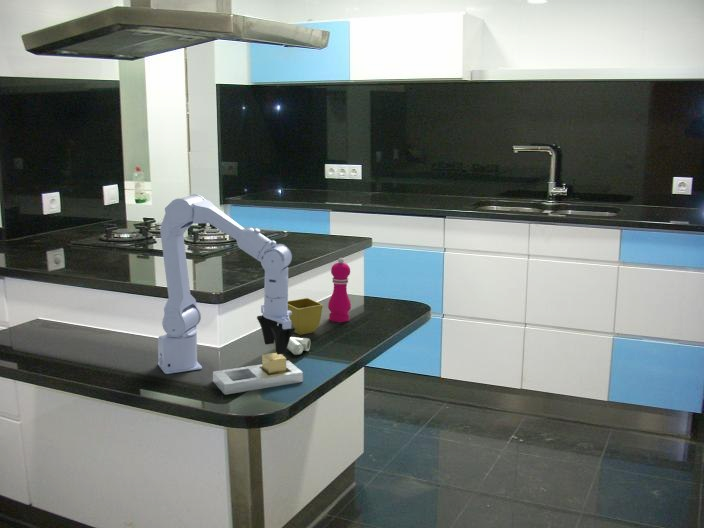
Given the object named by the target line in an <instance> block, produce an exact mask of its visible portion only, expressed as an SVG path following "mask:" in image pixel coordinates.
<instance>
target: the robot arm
mask: <svg viewBox="0 0 704 528" xmlns="http://www.w3.org/2000/svg"><path fill="white" fill-rule="evenodd" d="M193 224H209V225H210V226H213V227H214V228H216V229H218V230H219V231H221V232H223V233H224V234H226V235H228V236H229V237H230V238H232V239H234V240H236V244H237V247H238V248H239V249H240V250H242V251H243V252H245V253H246V254H248V255H249V256H251V257H252V258H254V259H255V260H257V261H258V262H260V264H261V267H262V269H263V270H264V287H263V288H264V292H263V293H264V295H263V296H264V297H263V298H264V299H263V300H264V301H263V302H264V303H263V304H262V305H260V312H261V315H257V316H256V319H257V321H258V323H259V326H260V328H261V331H262V336H263V341H264V344H265V345H272V344H274V343H275V344H274V345H275V353H277V354H282V355H284V354H286V353H287V350H288V349H287V346H288V343H289V340H290V337H292V336H293V333H295V332H294V331H295V327H294V326H293V325H291V320H290V319H289V315H292V312H291V311H290V310H288V301H289V267H288V266H289V265H290V264H291V262H292V260H293V254H292V252H291V250H290V248H289V247H287V246H286V245H285V244H283V243H277V241H275V240H274V239H273V240H271V238H270V239H269V238H268V237H266V236H265V235H264V234H262V233H261V229H259V228H258V227H256V228H253V227H246V228H245V227H243V226H242V225H240V224H239V223H237V221H236V220H233V219H232V218H231V217H230V216H229V215H227V214H226V213H225V212H223V211H222V210H220V209H219V208H218V207H216V206H215V204H214V203H213V202H212V201H211V200H209V199H205V198H204V197H203V196H202V195H200V194H197V193H196V194H194V193H193V194H191V195H189V196H185V197H181V198H179V197H178V198H175V199H173V200H172V201H171V202H169V204H168V205H166V206H165V207H164V216H163V218H162V222H161V224H160V227H159V228H160V229H159V232H160V238H161V246H162V248H161V249H162V255H163V262H164V263H163V264H164V269H165V270H164V271H165V279H166V287H167V296H168V299H167V301H166V303H165V306H164V307H163V313H164V315H163V318H162V322H161V325H162V329H163V330H164V332H165V333H166V334H164V335H159V336H158V339H157V356H158V357H157V358H158V362H157V365H158V366H159V368H160V370H162V372H163V374H165V375H169V374H176V373H183V372H190V371H197V370H202V369H203V366H202V365H201V364H200V362H198V344H197V343H198V340H197V339H198V337H197V333H198V332H197V329H198V328H197V326H198V325H199V324H200V322H201V320H202V314H201V311H200V309H199V307H198V306H197V299H196V298H195V297H194V296H193V295H192V294H191V287H190V279H189V270H188V263H187V253H186V245H185V238H184V233H185V232H186V231H187V230H188V229H189V228H190V227H191V226H192V225H193Z"/></svg>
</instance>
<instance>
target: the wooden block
mask: <svg viewBox="0 0 704 528" xmlns="http://www.w3.org/2000/svg"><path fill="white" fill-rule="evenodd" d="M261 360H262V361H261V364H262V370H263V371H264V372H265V373H266V374H267V375H274V374H281V373H286V361H287V357H286V356H284V354H277V352H272V353H266V354H265V353H263V354H262V356H261Z"/></svg>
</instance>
